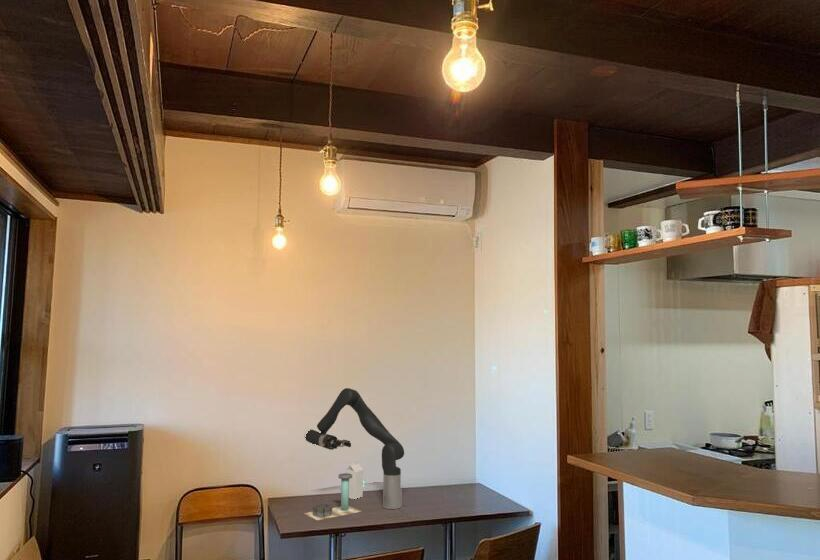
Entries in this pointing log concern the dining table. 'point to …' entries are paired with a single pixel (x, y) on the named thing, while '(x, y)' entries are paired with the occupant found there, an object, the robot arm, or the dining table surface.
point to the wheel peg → (345, 490)
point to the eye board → (334, 513)
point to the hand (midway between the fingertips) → (343, 445)
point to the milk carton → (355, 481)
